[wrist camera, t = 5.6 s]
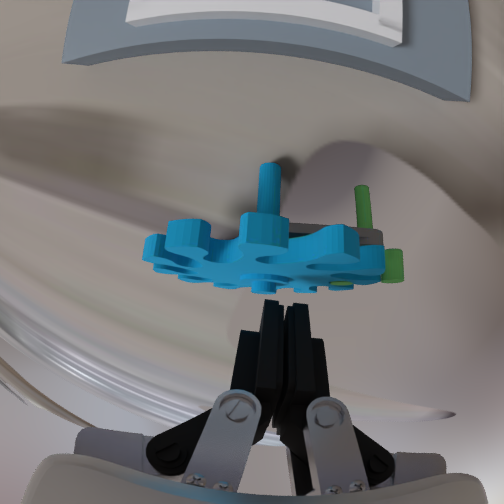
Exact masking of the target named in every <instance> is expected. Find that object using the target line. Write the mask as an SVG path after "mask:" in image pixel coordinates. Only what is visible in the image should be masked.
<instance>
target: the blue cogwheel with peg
mask: <svg viewBox="0 0 504 504" xmlns="http://www.w3.org/2000/svg"><path fill="white" fill-rule="evenodd" d="M280 188H281V167H280V166H279V165H278V164H276V163H264V164H262V165H261V166H260V173H259V188H258V202H257V213H256V212H247V213H244V214H243V215H242V216H241V218H240V230H239V237H237V238H235V239H232V240H219V239H214V238H211V237H210V233H211V225H210V224H209V223H208V222H206V221H204V220H202V219H181V220H173V221H169V222H168V228H167V234H166V235H163V234H153V235H150V236H149V237H147V238H146V239H145V245H144V251H143V257H142V260H144V261H147V262H151V263H154V266H153V270H154V271H155V272H158V273H164V274H178V279H180V280H183V281H186V282H192V283H201V282H214V285H213V286H215V287H219V288H225V289H236V288H240V287H252V290H251V292H252V293H257V294H276V290H277V289H281V288H294V292H296V293H316V292H317V286H329V290H334V291H338V290H351V289H353V288H354V284H357V285H369V284H374V283H377V282H380V281H381V282H382V283H398V282H403V281H404V268H403V252H402V250H400V249H386V250H385V249H384V246H383V234H382V232H381V231H380V230H377V229H373V225H372V214H371V204H370V194H369V187H368V186H366V185H358V186H356V187H355V188H354V190H355V201H356V214H357V227H348V226H346V225H344V224H336V225H318V224H301V223H289V219H288V218H285V217H282V216H280Z"/></svg>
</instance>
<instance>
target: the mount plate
mask: <svg viewBox="0 0 504 504" xmlns="http://www.w3.org/2000/svg"><path fill="white" fill-rule="evenodd" d="M187 51H241V52H257V53H268V54H278V55H286V56H294V57H300V58H306V59H312V60H318V61H323V62H328V63H333V64H337V65H342V66H346V67H350V68H354V69H358V70H361V71H365V72H369V73H372V74H375V75H379V76H382V77H385V78H388V79H391V80H394V81H397V82H400V83H403V84H405V85H408V86H411V87H413V88H416V89H418V90H421V91H423V92H426V93H428V94H431V95H433V96H435V97H437V98H440V99H442V100H448V101H465V102H470V91H471V73H472V40H471V23H470V12H469V4H468V0H74V1H73V5H72V9H71V13H70V17H69V22H68V27H67V32H66V37H65V43H64V49H63V56H62V63H65V64H77V65H88V66H89V65H93V64H97V63H102V62H107V61H112V60H117V59H123V58H129V57H135V56H143V55H151V54H160V53H171V52H187Z"/></svg>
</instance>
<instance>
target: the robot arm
mask: <svg viewBox="0 0 504 504" xmlns="http://www.w3.org/2000/svg"><path fill="white" fill-rule="evenodd" d="M272 415H273V417H272ZM271 418H272V427H273V428H277V435H280V441H281V442H282V443H283V444H285V445H286V454H287V461H288V469H289V476H290V483H291V491H292V496H272V495H256V494H245V493H237V490H238V487H239V484H240V481H241V478H242V475H243V471H244V468H245V465H246V462H247V459H248V455H249V452H250V449H251V446H252V445H254V444H256V443H257V442H258V441H260V440H261V439H263V436H264V433H265V431H266V428H267V427H268V426H269V423H270V421H271ZM21 504H488V501H487V497H486V493H485V490H484V487H483V485H482V483H481V482H480V480H479V479H478V478H476V477H474V476H472V475H469V474H463V473H449V474H446V461H445V459H444V458H443V457H442V456H441V455H440V454H436V453H406V452H397V453H395V454H393V453H389V452H388V451H387V450H386V449H384V448H383V447H382V446H380V445H379V444H378V443H376V442H375V441H374V440H372V439H371V438H369V437H368V436H367V435H365V434H364V433H363V432H362V431H360V430H359V429H358V428H356V427H355V426H354V425H352V422H351V418H350V415H349V411H348V409H347V407H346V406H345V405H344V404H343V403H342V402H341V401H339V400H338V399H336V398H332V397H330V392H329V383H328V373H327V366H326V356H325V349H324V342H323V339H318V338H311V331H310V320H309V310H308V305H307V304H299V303H293V306H288V307H287V310H286V315H285V319H284V306H283V305H279V301H275V300H267V299H265V301H264V307H263V313H262V319H261V325H260V331H259V332H253V331H246V330H241V332H240V337H239V343H238V348H237V354H236V359H235V365H234V371H233V376H232V382H231V387H230V390H229V391H226V392H223V393H222V394H221V395H220V396H218V398H217V399H216V401H215V403H214V405H213V408H211V409H209V410H208V411H206V412H204V413H202V414H200V415H198V416H196V417H194V418H192V419H190V420H188V421H186V422H184V423H182V424H180V425H178V426H176V427H174V428H172V429H169V430H167V431H165V432H163V433H161V434H158V435H157V436H155V437H153V436H144V435H143V434H138V433H128V432H121V431H113V430H108V429H101V428H96V427H87V428H84V429H82V430H81V431H80V432H79V433H78V435H77V438H76V441H75V448H74V454H54V455H50V456H48V457H47V458H45V459H44V460H43V461H42V462H41V463H40V464H39V466H38V467H37V469H36V470H35V472H34V474H33V475H32V478H31V480H30V482H29V484H28V486H27V489H26V491H25V494H24V497H23V499H22V502H21Z"/></svg>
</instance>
